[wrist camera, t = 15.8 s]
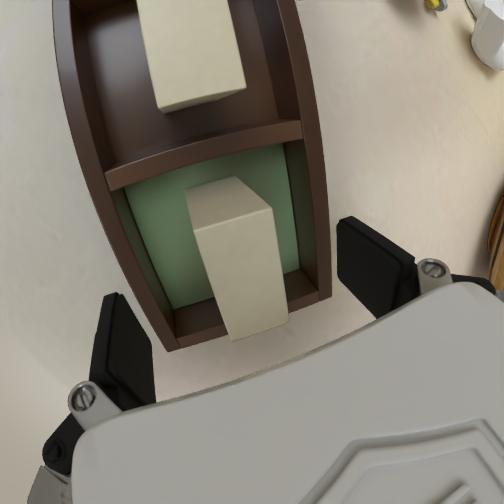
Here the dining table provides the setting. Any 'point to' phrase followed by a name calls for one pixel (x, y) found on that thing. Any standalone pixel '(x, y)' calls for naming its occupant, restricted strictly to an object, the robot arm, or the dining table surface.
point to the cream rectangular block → (239, 255)
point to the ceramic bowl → (497, 248)
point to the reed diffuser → (436, 4)
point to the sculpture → (488, 31)
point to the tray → (194, 156)
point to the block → (190, 51)
